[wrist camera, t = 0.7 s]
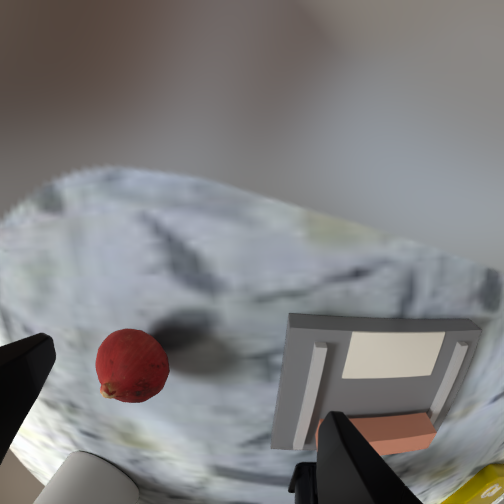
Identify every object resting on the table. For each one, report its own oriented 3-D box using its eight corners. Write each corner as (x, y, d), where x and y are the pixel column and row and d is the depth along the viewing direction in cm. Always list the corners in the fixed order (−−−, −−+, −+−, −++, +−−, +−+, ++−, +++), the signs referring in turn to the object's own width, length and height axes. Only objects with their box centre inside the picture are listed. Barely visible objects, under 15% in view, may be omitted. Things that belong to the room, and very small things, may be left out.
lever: (417, 427, 20) (427, 447, 17) (315, 434, 21) (317, 459, 18) (425, 412, 20) (436, 432, 17) (320, 418, 20) (323, 443, 18)
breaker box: (425, 424, 23) (435, 444, 20) (271, 430, 25) (270, 454, 22) (468, 318, 21) (487, 333, 18) (288, 313, 22) (289, 332, 19)
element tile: (425, 512, 28) (431, 529, 24) (486, 462, 25) (496, 479, 20) (463, 507, 29) (469, 522, 24) (515, 462, 25) (524, 476, 21)
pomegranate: (189, 334, 23) (154, 391, 15) (170, 381, 25) (137, 439, 17) (129, 302, 23) (75, 345, 15) (116, 351, 25) (71, 398, 17)
